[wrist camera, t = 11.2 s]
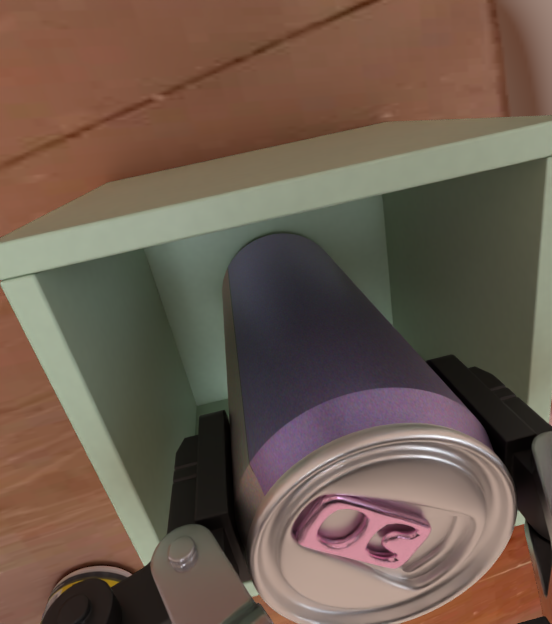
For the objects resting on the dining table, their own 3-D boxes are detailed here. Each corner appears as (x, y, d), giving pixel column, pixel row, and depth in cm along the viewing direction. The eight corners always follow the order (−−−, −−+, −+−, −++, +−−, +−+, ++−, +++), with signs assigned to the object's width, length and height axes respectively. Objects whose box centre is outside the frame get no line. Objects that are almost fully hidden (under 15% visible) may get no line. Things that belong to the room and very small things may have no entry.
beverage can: (254, 208, 20) (341, 378, 7) (355, 261, 22) (587, 479, 8) (202, 311, 22) (186, 613, 8) (299, 352, 24) (416, 654, 10)
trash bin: (106, 182, 19) (-22, 247, 9) (387, 121, 20) (583, 113, 9) (188, 413, 25) (170, 619, 14) (405, 359, 26) (538, 520, 15)
